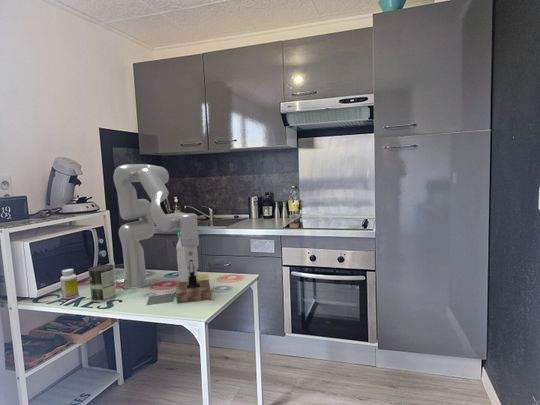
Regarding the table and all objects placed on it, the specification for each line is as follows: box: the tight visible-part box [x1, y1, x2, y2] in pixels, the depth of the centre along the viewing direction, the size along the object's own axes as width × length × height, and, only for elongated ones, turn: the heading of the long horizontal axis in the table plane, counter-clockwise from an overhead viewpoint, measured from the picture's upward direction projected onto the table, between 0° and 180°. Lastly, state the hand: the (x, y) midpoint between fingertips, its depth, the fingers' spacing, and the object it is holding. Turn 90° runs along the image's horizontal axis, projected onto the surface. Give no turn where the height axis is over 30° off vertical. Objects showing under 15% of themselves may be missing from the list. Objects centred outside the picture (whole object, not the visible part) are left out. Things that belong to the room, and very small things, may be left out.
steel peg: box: [187, 268, 199, 288], centre depth 153 cm, size 4×4×12 cm
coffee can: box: [87, 264, 117, 303], centre depth 159 cm, size 10×10×14 cm
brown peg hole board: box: [175, 278, 212, 305], centre depth 154 cm, size 14×14×5 cm
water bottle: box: [175, 231, 188, 283], centre depth 177 cm, size 7×7×25 cm
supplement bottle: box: [59, 268, 80, 300], centre depth 162 cm, size 7×7×13 cm
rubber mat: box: [145, 292, 176, 306], centre depth 152 cm, size 11×11×1 cm
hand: (192, 283), depth 153 cm, fingers closed on steel peg, 3 cm apart
